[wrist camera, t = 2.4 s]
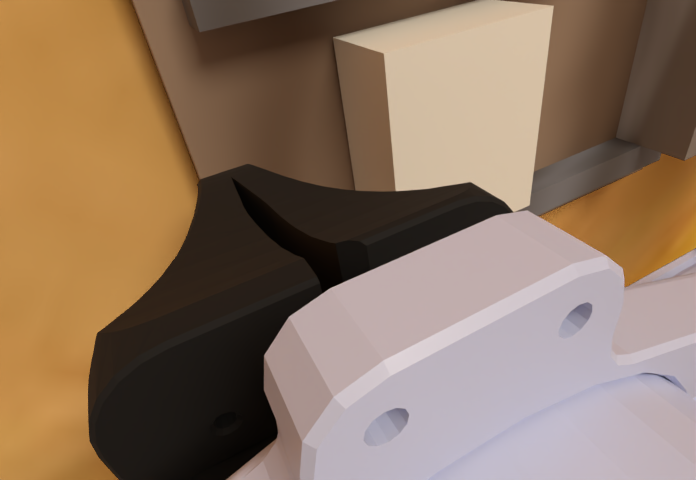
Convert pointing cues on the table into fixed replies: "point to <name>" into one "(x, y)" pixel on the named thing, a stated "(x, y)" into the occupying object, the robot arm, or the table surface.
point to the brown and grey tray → (400, 3)
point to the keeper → (447, 98)
